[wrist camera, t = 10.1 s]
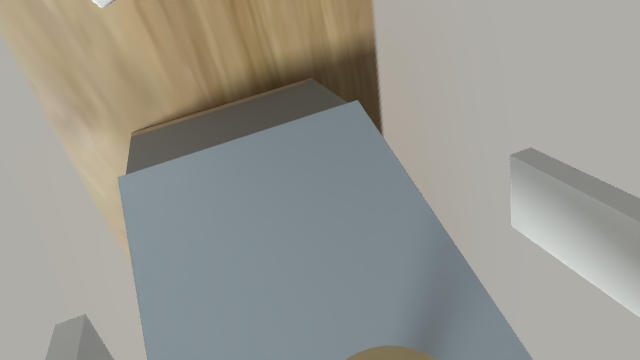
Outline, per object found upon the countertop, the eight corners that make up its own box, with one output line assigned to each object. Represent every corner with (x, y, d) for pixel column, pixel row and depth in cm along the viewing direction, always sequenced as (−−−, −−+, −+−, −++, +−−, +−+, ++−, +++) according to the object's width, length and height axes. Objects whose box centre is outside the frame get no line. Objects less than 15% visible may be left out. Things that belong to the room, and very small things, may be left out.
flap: (121, 183, 29) (28, 43, 21) (357, 106, 32) (359, -43, 24) (200, 654, 16) (34, 795, 8) (585, 448, 19) (770, 386, 11)
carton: (131, 133, 38) (124, 180, 29) (311, 77, 41) (353, 106, 32) (215, 322, 48) (229, 399, 39) (354, 267, 51) (395, 327, 42)
